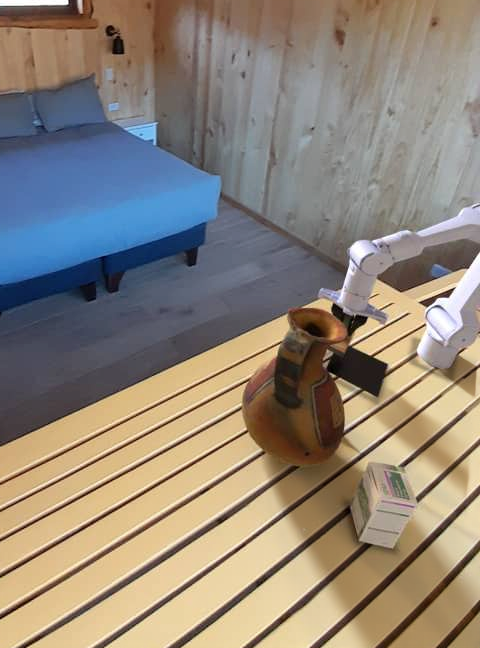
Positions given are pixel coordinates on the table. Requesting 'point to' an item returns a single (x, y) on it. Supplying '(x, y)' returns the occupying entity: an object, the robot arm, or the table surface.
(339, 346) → the brush
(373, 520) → the syrup box
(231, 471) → the table surface
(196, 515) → the table surface
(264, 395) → the ceramic pitcher
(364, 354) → the enamel panel
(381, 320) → the robot arm
